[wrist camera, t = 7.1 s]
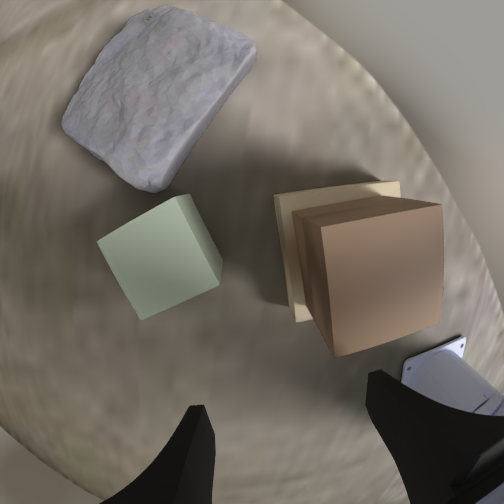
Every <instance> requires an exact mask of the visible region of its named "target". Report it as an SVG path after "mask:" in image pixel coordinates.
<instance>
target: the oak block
mask: <svg viewBox="0 0 504 504" xmlns="http://www.w3.org/2000/svg"><path fill="white" fill-rule="evenodd" d="M382 195H384V196H391V197H398V198H401V195H400V185H399V181H374V182H365V183H356V184H347V185H339V186H331V187H324V188H316V189H309V190H302V191H295V192H288V193H282V194H275V195H273V198H274V204H275V211H276V217H277V224H278V231H279V237H280V244H281V251H282V258H283V265H284V272H285V279H286V287H287V294H288V302H289V307H290V310H291V312H292V314H293V316H294V319H295V321H296V323H297V322H302V321H307V320H311V319H313V318H312V316H311V314H310V312H309V310H308V309H307V307H306V302H305V295H304V288H303V281H302V274H301V268H300V261H299V255H298V248H297V242H296V236H295V230H294V224H293V218H292V212H291V211H296V210H301V209H307V208H312V207H318V206H323V205H329V204H334V203H340V202H346V201H352V200H358V199H364V198H370V197H376V196H382Z"/></svg>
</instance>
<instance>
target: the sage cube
mask: <svg viewBox="0 0 504 504" xmlns="http://www.w3.org/2000/svg"><path fill="white" fill-rule="evenodd" d="M97 243H98V245H99V247H100V249H101V251H102V253H103V255H104V257H105V259H106V261H107V263H108V265H109V266H110V268H111V270H112V272H113V274H114V276H115V277H116V279H117V281H118V283H119V284H120V286H121V288H122V290H123V291H124V293H125V295H126V297H127V298H128V300H129V302H130V303H131V305H132V307H133V308H134V310H135V311H136V313H137V315H138V316H139V318H140V320H141V321H142V320H144V319H146V318H148V317H151V316H153V315H155V314H157V313H160V312H162V311H164V310H166V309H168V308H171V307H173V306H175V305H177V304H179V303H182V302H184V301H186V300H188V299H190V298H193V297H195V296H197V295H199V294H201V293H204V292H206V291H208V290H210V289H212V288H214V287H217V286H219V285H220V281H221V273H222V266H223V259H222V257H221V255H220V253H219V251H218V249H217V247H216V246H215V244H214V242H213V240H212V238H211V236H210V234H209V232H208V230H207V228H206V226H205V224H204V222H203V220H202V218H201V216H200V214H199V212H198V210H197V208H196V206H195V204H194V201H193V199H192V197H191V195H190V194H185V195H180V196H175V197H173V198H171V199H169V200H168V201H166V202H164V203H162V204H160V205H158V206H156V207H155V208H153V209H151V210H149V211H147V212H146V213H144V214H142V215H140V216H139V217H137V218H135V219H133V220H132V221H130V222H128V223H126V224H125V225H123V226H121V227H120V228H118V229H116V230H115V231H113V232H111V233H110V234H108V235H106V236H105V237H103V238H101V239H100V240H98V241H97Z"/></svg>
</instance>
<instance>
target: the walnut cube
mask: <svg viewBox="0 0 504 504" xmlns="http://www.w3.org/2000/svg"><path fill="white" fill-rule="evenodd" d="M291 212H292V218H293V224H294V230H295V236H296V242H297V248H298V255H299V261H300V268H301V274H302V281H303V288H304V295H305V302H306V307H307V309H308V310H309V312H310V314H311V316H312V318H313V319H314V321H315V323H316V325H317V327H318V329H319V330H320V332H321V334H322V336H323V338H324V340H325V342H326V343H327V345H328V347H329V349H330V351H331V353H332V355H333V356H334V358H337V357H341V356H345V355H348V354H352V353H355V352H358V351H362V350H365V349H368V348H371V347H374V346H378V345H381V344H384V343H387V342H390V341H393V340H395V339H398V338H401V337H404V336H407V335H409V334H412V333H415V332H417V331H420V330H423V329H425V328H428V327H430V326H433V325H435V324H438V323H440V320H441V310H442V297H443V278H444V229H443V210H442V204H437V203H431V202H425V201H419V200H412V199H405V198H398V197H391V196H384V195H382V196H376V197H370V198H364V199H358V200H352V201H346V202H340V203H334V204H329V205H323V206H318V207H312V208H307V209H301V210H296V211H291Z"/></svg>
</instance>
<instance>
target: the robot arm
mask: <svg viewBox="0 0 504 504" xmlns="http://www.w3.org/2000/svg"><path fill="white" fill-rule="evenodd" d="M465 342H466V338H465V337H464V336H461V337H459V338H457V339H455V340H452V341H450V342H448V343H446V344H443V345H441V346H439V347H437V348H434V349H432V350H429V351H427V352H424V353H422V354H419V355H417V356H414V357H412V358H409V359H407V360H406V361H405V362H404V366H403V373H402V380H401V382H400V381H398V380H397V379H395V378H393V377H392V376H390V375H389V374H387V373H386V372H384V371H382V370H381V369H380V370H377V371H374V372H371V373H368V384H367V395H366V404H365V405H366V408H367V410H368V413H369V415H370V417H371V420H372V422H373V424H374V426H375V427H376V429H377V431H378V433H379V434H380V436H381V438H382V439H383V441H384V443H385V445H386V446H387V448H388V450H389V451H390V453H391V455H392V457H393V459H394V460H395V462H396V465H397V467H398V470H399V472H400V475H401V477H402V480H403V483H404V485H405V488H406V491H407V494H408V497H409V500H410V504H504V395H502V394H501V393H500V392H499V391H498V390H497V389H495V388H494V387H493V386H492V385H491V384H490V383H489V382H488V381H487V380H486V379H485V378H484V377H482V376H481V375H480V374H479V373H478V372H477V371H476V370H475V369H473V368H472V367H471V366H470V365H469V364H468V363H467V362H466V361H464V360H463V359H462V356H463V352H464V347H465ZM408 367H409V368H408ZM215 454H216V452H215V433H214V431H213V428H212V426H211V423H210V420H209V418H208V415H207V412H206V409H205V407H204V405H193V406H189V408H188V409H187V411H186V413H185V415H184V417H183V418H182V420H181V422H180V424H179V425H178V427H177V429H176V430H175V432H174V433H173V435H172V436H171V438H170V440H169V441H168V442H167V444H166V445H165V447H164V448H163V449H162V451H161V452H160V453H159V455H158V456H157V457H156V458H155V459H154V461H153V462H152V463H151V464H150V465H149V466H148V467H147V468H146V469H145V470H144V471H143V472H142V473H141V474H140V475H139V476H138V477H137V478H136V479H135V480H134V481H133V482H131V483H130V484H129V485H128V486H126V487H125V488H124V489H122V490H121V491H119V492H118V493H117V494H115V495H114V496H112V497H110V498H109V499H107V500H105V501H103V502H101V503H100V504H212V487H213V476H214V465H215Z"/></svg>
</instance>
